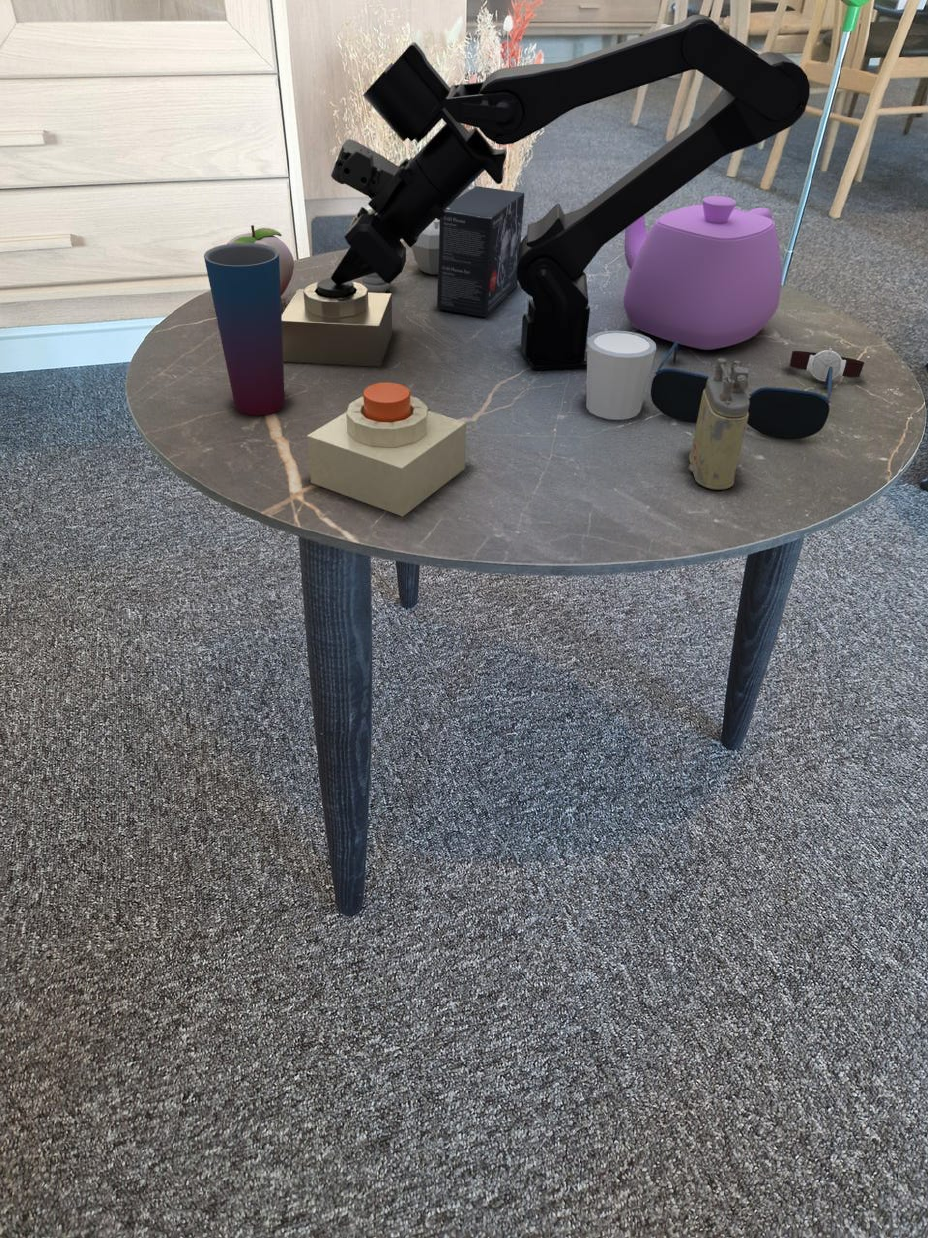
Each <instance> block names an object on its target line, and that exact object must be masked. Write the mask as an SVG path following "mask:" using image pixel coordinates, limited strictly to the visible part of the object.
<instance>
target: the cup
mask: <svg viewBox="0 0 928 1238" xmlns="http://www.w3.org/2000/svg"><path fill="white" fill-rule="evenodd" d="M203 259H204V263H205V269H206V273H207V278H208V283H209V288H210V293H211V297H212V302H213V308H214V311H215V312H214V313H215V316H216V317H215V318H216V323H217V327H218V331H219V336H220V340H221V347H222V351H223V355H224V356H223V357H224V360H225V365H226V369H227V373H228V374H227V375H228V379H229V383H230V384H229V385H230V389H231V394H232V398H233V404H234V408H235V410H237V411H238V413H241V414H243V415H249V416H266V415H271V414H274V413H276V412H280V411H281V410H282V409H283V408H284V407H285V404H286V398H285V394H286V393H285V371H284V370H285V369H284V368H285V367H284V362H283V341H282V295H281V289H280V262H279V252H278V250H277V249H276V248H274V247H271V246H268V245H264V244H258V243H232V244H227V243H226V244H221V245H218V246H214V247H211V248H210V249H208V250H206V251H205V252H204V255H203Z"/></svg>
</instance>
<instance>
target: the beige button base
mask: <svg viewBox="0 0 928 1238" xmlns="http://www.w3.org/2000/svg"><path fill="white" fill-rule="evenodd" d="M318 282H319V281H316V282H314V283H311V284H309V285H307V286H305V288H297V289H296V291H295V293H294V294H293V296H292V297H291V299H290V301H289V302H288V304H287V306H286V307H285V309H284V310H283V312H282V313H281V315H282V341H283V363H297V364H298V363H301V364H317V365H336V366H355V367H372V368H373V367H374V368H381V367H382V365H383V360H384V358H385V356H386V355H385V354H386V353H387V350H388V347H389V344H390V341H391V339H392V335H393V297H392V296H393V295H392V293H386V292H383V293H369V292H368V289H367V288H366V287H365V286H364V285H362V284H361V283H360V282H356V281H354V280H352V282H353V283H354V294H353V295H351V296H348V297H342V298H329V297H323V296H320V295H318V289H317V284H318Z"/></svg>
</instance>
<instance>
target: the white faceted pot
mask: <svg viewBox="0 0 928 1238" xmlns="http://www.w3.org/2000/svg"><path fill="white" fill-rule="evenodd" d="M411 251H412V254H413V258H414V260H415V262H416V264H417V265H418V268H419V269H420V270H421V271H422V272H423V273H426V274H429V275H438V265H439V220H438V219H437V218H436V219H435V220H434V221H433V222H432V223H431V224H430V225H429V226H428V227H427V228H426V229H425V230H424V231H423V232H422V233H421V234H420V235H419V237H418V240H417V242H416V243H415V244H414V245H413V246H412V247H411Z"/></svg>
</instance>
